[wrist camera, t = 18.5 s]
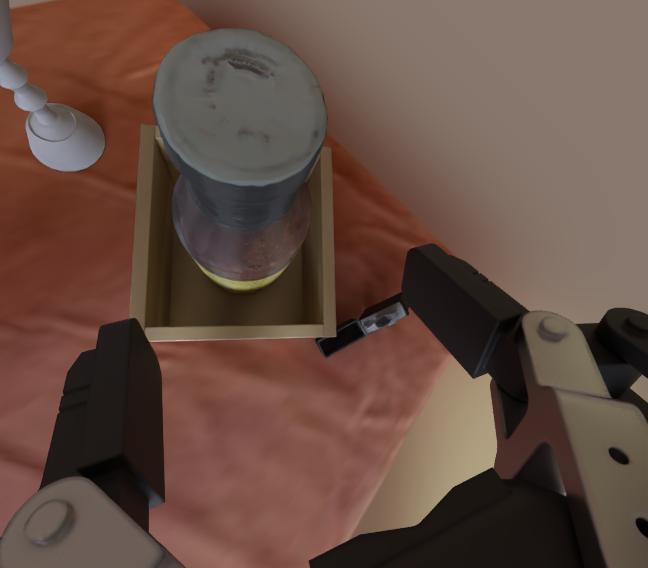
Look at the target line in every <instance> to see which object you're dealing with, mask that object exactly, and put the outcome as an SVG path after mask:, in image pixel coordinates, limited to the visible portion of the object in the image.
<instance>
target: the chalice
mask: <svg viewBox="0 0 648 568" xmlns="http://www.w3.org/2000/svg"><path fill="white" fill-rule="evenodd" d="M12 48H13V34H12V25H11V17H10V8H9V0H0V85H1V86H2V87H4V88H8V89H11V90H13V91H15V94H14V100H15V103H16V104H17V105H18V107H20V108H21V109H23V110H26V111H31V112H30V113H29V115H28V117H27V120H26V132H27V136H28V139H29V145H30V148H31V150H32V152H33V154H34V155H35V157H36V158H37V159H38V160H39V161H40V162H41V163H43V164H45V165H46V166H48V167H50V168H52V169H56V170H60V171H78V170H82V169H85V168H88V167H89V166H91V165H92V164H94V163H95V162H96V161H97V160H98V159H99V158H100V156H101V155H102V153H103V150H104V147H105V136H104V133H103V131H102V129H101V127H100V126H99V125H98V124H97V122H96V121H95V120H94V119H92V118H91V117H89V116H87V115H86V114H84V113H81V112H79V111H78V110H76V109H73V108H71V107H70V106H68V105H64V104H61V103H47V104H46V102H47V95H46V93H45V91H44V90H43V89H42V88H40V87H38V86H35V85H30V84H29V83H28V81H27V79H28V74H27V71H26V70H25V69H24V68H23V67H22V66H20V65H19V64H15V63H13V62H12V61H11V60H10V59H8V58H7V57H8V56H9V54H10V53H11V50H12Z"/></svg>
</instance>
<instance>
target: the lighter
mask: <svg viewBox="0 0 648 568" xmlns="http://www.w3.org/2000/svg"><path fill="white" fill-rule="evenodd" d="M408 308H409V306H408V305H407V303H406V302H405V300H404V298H403V295H402V292H401V293H399V294H397V295H395V296H393V297H390V298H388V299H386V300H384V301H382V302H380V303H378V304H376V305H374V306H372V307H370V308H368V309H366V310H365V311H364V313H363V314H362V316H361V317H360V319H359V320H356V319H350V320H348V321H346V322H344V323H342V324H340V325H338V326H337V327H336V337H318V338H316V339H315V341H316V343H317V345H318V347H319V349H320V350H321V352H322V354H323V355H324V357H325V358H328V357H329V356H331V355H333V354H335V353H337V352H338V351H340V350H342V349H344V348H345V347H347V346H349V345H351V344H352V343H354V342H356V341H358V340H359V339H361V338H363V337H365V336H366V334H369V333H371V332H373V331H375V330H378V329H380V328H382V327H384V326H386V325H393V324H395V323H396V322H397V320H399V319H401V318H403V317H405V316H407V315H409V312H408Z"/></svg>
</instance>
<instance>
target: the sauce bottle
mask: <svg viewBox="0 0 648 568" xmlns="http://www.w3.org/2000/svg"><path fill="white" fill-rule="evenodd" d="M152 107H153V113H154V116H155V120H156V123H157V126H158V128H159V132H160V136H161V138H162V140H163V143H164V146H165V149H166V151H167V154H168V156H169V158H170V159H171V161H172V162H173V164H174V165H175V166H176V168H177V169H178V170H179V172H180V173H181V175H180V176H179V178H178V180H177V182H176V185H175V188H174V192H173V197H172V216H173V221H174V224H175V228H176V231H177V234H178V236H179V238H180V240H181V242H182V244H183V245H184V247H185V248H186V250H187V251H188V253H189V254H190V255H191V256H192V258H193V259H194V260H195V261H196V263H197V264H198V265H199V267H200V268H201V269H202V271H203V272H204V273H205V274H206V275H207V276H208V278H209V279H210V280H211V281H212V282H213V283H214V284H215V285H216V286H218V287H219V288H221V289H223V290H224V291H227V292H229V293H232V294H239V295H246V294H254V293H257V292H260V291H262V290H264V289H266V288H267V287H269V286H270V285H271V284H272V283H274V282H275V281H276V279H277V278H278V277H279V276H280V275H281V273H282V272H283V271H284V270H285V268H286V267H287V266H288V265H289V263H290V262H291V261H292V259H293V258H294V256H295V255H296V254H297V252H298V251H299V249H300V247H301V245H302V243H303V242H304V240H305V238H306V234H307V232H308V230H309V225H310V221H311V216H312V206H311V197H310V192H309V189H308V187H307V186H306V183H305V180H306V178H307V176H308V174H309V172H310V170H311V169H312V168H313V166H314V164H315V162H316V159H317V157H318V155H319V153H320V151H321V148H322V145H323V143H324V139H325V136H326V131H327V119H328V117H327V108H326V105H325V102H324V95H323V93H322V91H321V88H320V86H319V84H318V81H317V78H316V76H315V75H314V73H313V72H312V70H311V69H310V68H309V66H308V65H307V64H306V63H305V62H304V61H303V60H302V59H301V58H300V57H299V56H298V55H297V54H296V53H295V52H294V51H293V50H292V49H291V48H290V47H288V46H287V45H285V44H284V43H282V42H280V41H278V40H276V39H275V38H273V37H271V36H268V35H265V34H263V33H261V32H259V31H254V30H247V29H238V28H224V29H216V30H211V31H207V32H201V33H196V34H193V35H192V36H190V37H189V38H187V39H185V40H183V41H180V42H178V43H177V44H176V45H175V46H174V47H173V48H172V49H171V50H170V51H169V52H168V53H167V54H166V56H165V58H164V59H163V61H162V63H161V65H160V67H159V69H158V70H157V74H156V79H155V84H154V93H153V98H152Z"/></svg>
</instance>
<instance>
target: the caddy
mask: <svg viewBox="0 0 648 568" xmlns="http://www.w3.org/2000/svg"><path fill="white" fill-rule="evenodd" d="M180 175H181V173H180V172H179V170H178V169H177V168H176V166H175V165H174V164H173V162H172V161H171V159H170V158H169V156H168V154H167V151H166V149H165V146H164V143H163V140H162V138H161V136H160V132H159V128H158V126H156V127H155V125H148V124H141V125H140V142H139V158H138V175H137V192H136V209H135V226H134V243H133V260H132V277H131V294H130V311H129V319H130V318H136V319H137V320H138V322H139V323H140V325H141V327H142V329H143V331H144V333H145V335H146V337H147V339H148V341H149V342H163V341H201V340H238V339H276V338H314V337H336V298H335V260H334V222H333V184H332V148H331V147H328V146H322V148H321V151H320V153H319V155H318V157H317V159H316V162H315V164H314V166H313V168H312V169H311V170H310V172H309V174H308V176H307V178H306V180H305V183H306V186H307V187H308V189H309V192H310V197H311V206H312V216H311V221H310V225H309V230H308V232H307V234H306V238H305V240H304V242H303V243H302V245H301V247H300V249H299V251H298V252H297V254H296V255H295V256H294V258H293V259H292V261H291V262H290V263H289V265H288V266H287V267H286V268H285V270H284V271H283V272H282V273H281V275H280V276H279V277H278V278H277V279H276V281H275V282H274V283H272V284H271V285H270V286H269V287H267V288H266V289H264V290H262V291H260V292H257V293H254V294H246V295H239V294H232V293H229V292H227V291H224V290H223V289H221V288H219V287H218V286H216V285H215V284H214V283H213V282H212V281H211V280H210V279H209V278H208V276H207V275H206V274H205V273H204V272H203V271H202V269H201V268H200V267H199V265H198V264H197V263H196V261H195V260H194V259H193V258H192V256H191V255H190V254H189V253H188V251H187V250H186V248H185V247H184V245H183V244H182V242H181V240H180V238H179V236H178V234H177V231H176V228H175V224H174V221H173V216H172V197H173V192H174V188H175V185H176V182H177V180H178V178H179V176H180Z"/></svg>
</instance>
